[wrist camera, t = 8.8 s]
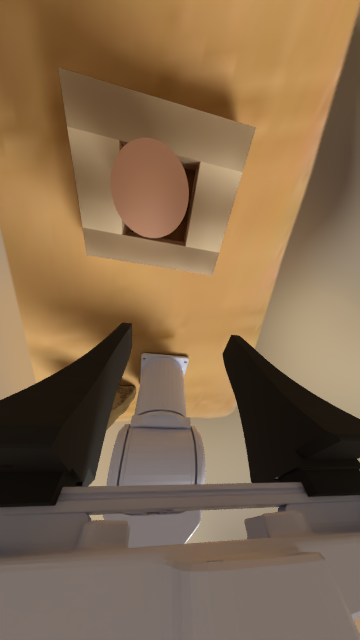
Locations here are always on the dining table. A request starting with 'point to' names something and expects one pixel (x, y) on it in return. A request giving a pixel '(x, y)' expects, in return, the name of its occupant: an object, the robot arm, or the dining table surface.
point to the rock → (121, 402)
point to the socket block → (182, 138)
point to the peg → (149, 187)
